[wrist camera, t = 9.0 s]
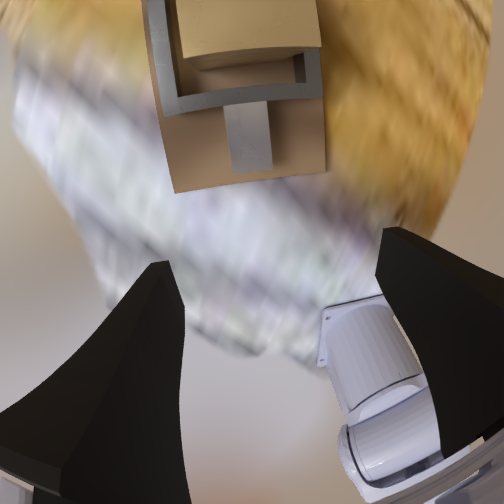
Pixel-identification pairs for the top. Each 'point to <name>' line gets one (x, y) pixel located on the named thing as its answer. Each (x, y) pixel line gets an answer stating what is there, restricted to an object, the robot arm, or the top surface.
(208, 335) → the top surface
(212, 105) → the brown board
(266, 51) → the block
